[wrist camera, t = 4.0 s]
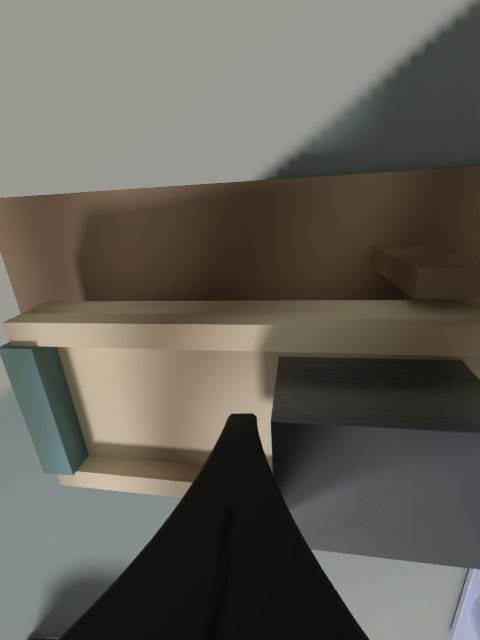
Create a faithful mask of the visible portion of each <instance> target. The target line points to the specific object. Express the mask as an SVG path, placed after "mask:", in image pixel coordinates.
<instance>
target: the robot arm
mask: <svg viewBox="0 0 480 640" xmlns="http://www.w3.org/2000/svg"><path fill="white" fill-rule="evenodd" d="M449 638H450V640H480V570H479V569H471V568H469V572H468V575H467V578H466V582H465V585H464V588H463V591H462V595H461V598H460V601H459V605H458V608H457V611H456V614H455V618H454V621H453V624H452V628H451V631H450V634H449ZM58 640H369V639H368V637H367V636H366V634H365V633H364V631H363V630H362V629H361V627H360V626H359V624H358V623H357V622H356V620H355V619H354V617H353V616H352V614H351V613H350V611H349V610H348V608H347V606H346V605H345V603H344V602H343V600H342V599H341V597H340V596H339V594H338V593H337V591H336V590H335V588H334V587H333V585H332V583H331V582H330V580H329V579H328V577H327V576H326V574H325V573H324V571H323V570H322V568H321V566H320V565H319V563H318V561H317V560H316V558H315V556H314V555H313V553H312V551H311V549H310V548H309V546H308V544H307V543H306V541H305V539H304V537H303V535H302V534H301V532H300V530H299V528H298V526H297V524H296V523H295V521H294V519H293V517H292V515H291V513H290V511H289V509H288V507H287V505H286V503H285V501H284V499H283V496H282V494H281V492H280V490H279V488H278V486H277V483H276V481H275V479H274V476H273V474H272V471H271V469H270V466H269V463H268V461H267V458H266V456H265V453H264V450H263V446H262V443H261V440H260V436H259V432H258V426H257V416H255V415H254V414H253V413H238V414H231V415H230V416H229V417H228V418H227V421H226V424H225V426H224V428H223V430H222V432H221V434H220V436H219V438H218V440H217V442H216V444H215V446H214V448H213V450H212V452H211V453H210V455H209V457H208V458H207V460H206V462H205V464H204V465H203V467H202V469H201V470H200V472H199V474H198V475H197V477H196V478H195V480H194V481H193V483H192V484H191V486H190V487H189V489H188V490H187V492H186V493H185V495H184V496H183V498H182V499H181V501H180V502H179V504H178V505H177V506H176V508H175V509H174V511H173V512H172V513H171V515H170V516H169V517H168V519H167V520H166V521H165V523H164V524H163V525H162V527H161V528H160V529H159V530H158V532H157V533H156V534H155V535H154V537H153V538H152V539H151V540H150V542H149V543H148V544H147V545H146V546H145V548H144V549H143V550H142V551H141V552H140V553H139V555H138V556H137V557H136V558H135V559H134V560H133V562H132V563H131V564H130V565H129V566H128V567H127V569H126V570H125V571H124V572H123V573H122V574H121V575H120V576H119V578H118V579H117V580H116V581H115V582H114V583H113V584H112V585H111V586H110V587H109V588H108V589H107V590H106V591H105V592H104V593H103V594H102V596H101V597H100V598H99V599H98V600H97V601H96V602H95V603H94V604H93V605H92V606H91V607H90V608H89V609H88V610H87V611H86V612H85V613H84V614H83V615H82V616H81V617H80V618H79V619H78V620H77V621H76V622H75V623H74V624H73V625H72V626H71V627H70V628H69V629H68V630H67V631H66V632H65V633H64V634H63V635H62V636H61V637H60V638H59V639H58Z"/></svg>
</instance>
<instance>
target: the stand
mask: <svg viewBox="0 0 480 640" xmlns="http://www.w3.org/2000/svg"><path fill="white" fill-rule="evenodd" d="M0 252H1V254H2V258H3V261H4V264H5V267H6V270H7V273H8V276H9V279H10V282H11V285H12V288H13V291H14V294H15V297H16V300H17V303H18V306H19V309H20V312H21V314H22V313H24V312H26V311H29V310H31V309H33V308H35V307H37V306H39V305H41V304H44V303H46V302H49V301H282V300H480V166H465V167H451V168H436V169H421V170H407V171H392V172H377V173H363V174H348V175H333V176H318V177H304V178H289V179H274V180H260V181H245V182H230V183H216V184H201V185H187V186H171V187H157V188H142V189H127V190H113V191H98V192H83V193H70V194H54V195H39V196H25V197H10V198H0Z"/></svg>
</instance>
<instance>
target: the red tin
mask: <svg viewBox="0 0 480 640" xmlns="http://www.w3.org/2000/svg"><path fill="white" fill-rule="evenodd" d="M59 638H60V637H30V638H28V639H27V640H58V639H59Z"/></svg>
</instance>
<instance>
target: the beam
mask: <svg viewBox="0 0 480 640" xmlns="http://www.w3.org/2000/svg"><path fill="white" fill-rule="evenodd" d="M3 324H4V327H5V330H6V333H7V336H8V338H9V341H10V342H9V343H7V344H5V345H3V346H1V347H0V355H1V358H2V361H3V363H4V366H5V369H6V371H7V374H8V377H9V379H10V382H11V385H12V387H13V390H14V393H15V395H16V398H17V401H18V403H19V406H20V409H21V411H22V414H23V417H24V419H25V422H26V425H27V428H28V430H29V433H30V436H31V438H32V441H33V444H34V446H35V449H36V452H37V454H38V457H39V460H40V462H41V465H42V468H43V470H44V473H53V474H57V476H58V479H59V481H60V484H61V485H67V486H76V487H86V488H95V489H104V490H114V491H123V492H132V493H142V494H151V495H160V496H170V497H179V498H183V496H184V495H185V493H186V492H187V490H188V489H189V487H190V486H191V484H192V483H193V481H194V480H195V478H196V477H197V475H198V474H199V472H200V470H201V469H202V467H203V465H204V464H205V462H206V460H207V458H208V457H209V455H210V453H211V452H212V450H213V448H214V446H215V444H216V442H217V440H218V438H219V436H220V434H221V432H222V430H223V428H224V426H225V424H226V421H227V418H228V417H229V416H230V415H231V414H238V413H253V414H254V415H255V416H257V426H258V432H259V436H260V440H261V443H262V446H263V450H264V453H265V456H266V458H267V461H268V463H269V466H270V469H271V471H272V474H273V466H272V443H271V415H272V407H273V399H274V391H275V383H276V375H277V367H278V359H279V357H329V358H383V359H437V360H462V361H463V362H464V363H465V364H466V365H467V366H468V367H469V368H470V370H471V371H472V372H473V373H474V374H475V375H476V376H477V377H478V378H479V379H480V300H282V301H49V302H46V303H44V304H41V305H39V306H37V307H35V308H33V309H31V310H29V311H26V312H24V313H22V314H20V315H18V316H16V317H14V318H12V319H9V320H8V321H5V322H3Z"/></svg>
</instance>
